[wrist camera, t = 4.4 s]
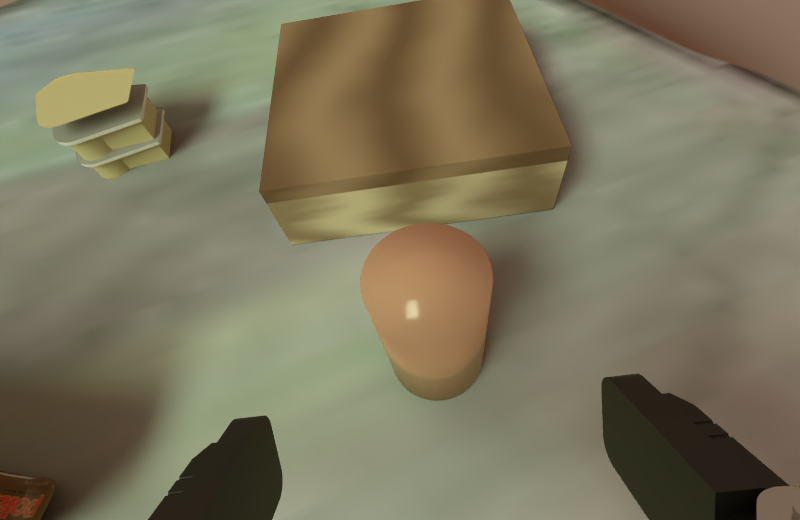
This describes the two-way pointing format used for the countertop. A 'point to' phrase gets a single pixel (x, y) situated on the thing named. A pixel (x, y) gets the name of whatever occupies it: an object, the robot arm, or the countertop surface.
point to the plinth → (408, 121)
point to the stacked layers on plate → (105, 120)
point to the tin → (24, 496)
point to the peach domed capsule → (430, 306)
